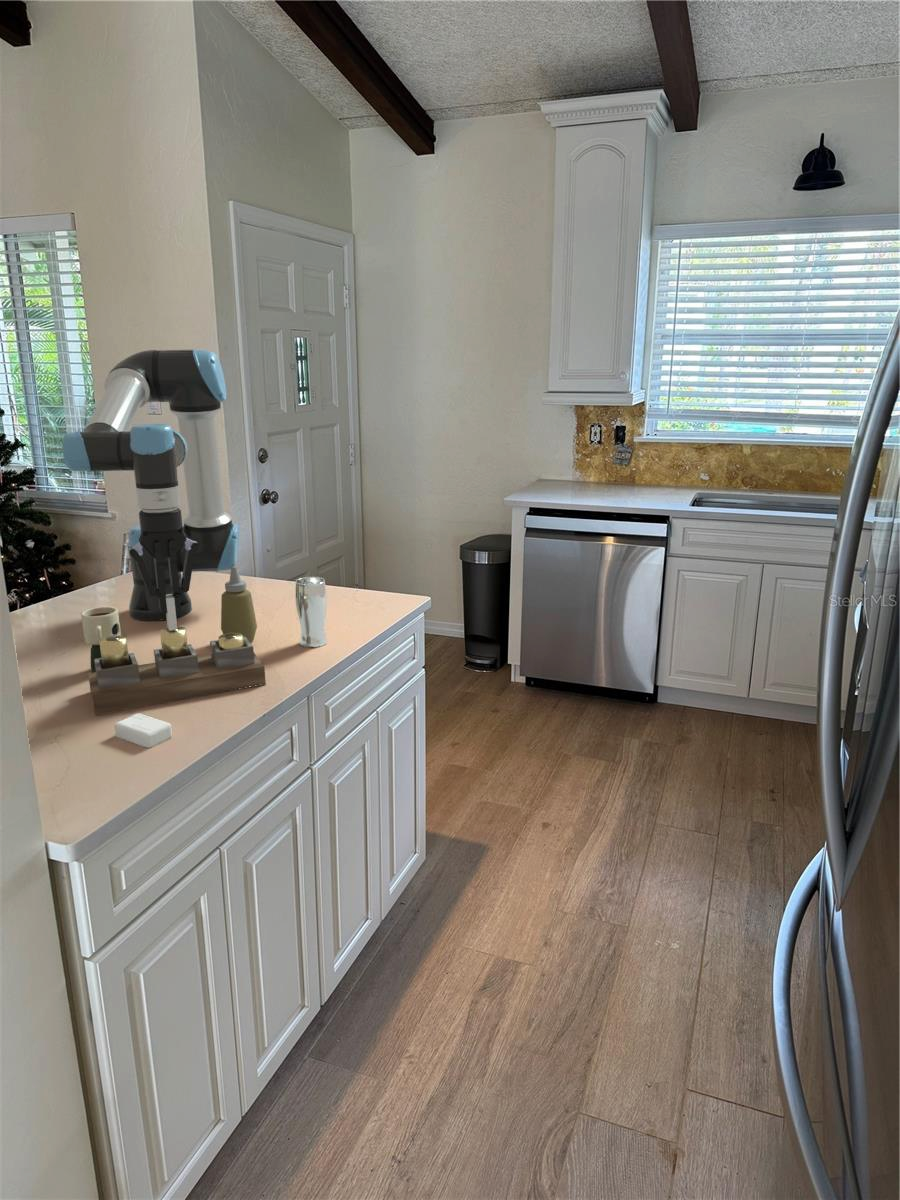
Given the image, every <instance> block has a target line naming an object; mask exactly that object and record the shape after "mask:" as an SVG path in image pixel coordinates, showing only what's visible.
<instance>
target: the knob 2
mask: <svg viewBox="0 0 900 1200" xmlns="http://www.w3.org/2000/svg"><path fill="white" fill-rule="evenodd" d="M218 640H219V649H220V651H221V650H227V649H234V648H240V647H244V643H243V635H242V634H240V633H226V634H223V633H222V634H220V635H219V636H218Z"/></svg>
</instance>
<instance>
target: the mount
mask: <svg viewBox="0 0 900 1200" xmlns="http://www.w3.org/2000/svg"><path fill="white" fill-rule="evenodd" d="M243 643H244V647H240V648H234V649H227V650H221V651H220V649H219V639H217V640H210V641H209V645H210V653H207V654H199V655H198V654H197V652H196V651H195V649H194V648H193V646H192V644H190V643H189V644H187V647H188V654H187V655H186V656H183V657H177V658H170V659H169V658H164V657H163V654H162V648H156V649H153V655H154V662H151V663H144V664H138V662H137V661H138V660H137V658H136V656H135V653H134V652H131V653H128V655H129V663H128V664H127V665H125V666H120V667H113V668H105V667H103V664H102V658H97V659H94V661H95V668H96V671H92V672H88V673H87V675H88V681H89V688H90V689H89V690H90V695H91V700H92V706H93V710H94V715H95V716H99V715H103V714H104V715H105V714H108V713H115V712H119V711H120V712H121V711H127V710H132V709H138V708H144V707H148V706H154V705H159V704H165V703H170V702H177V701H182V700H188V699H193V698H199V697H204V696H205V697H206V696H209V695H215V694H221V693H222V694H223V693H227V692H231V691H230V690H233V691H236V690H235V689H239V688H244V689H246V688H245V687H249V686H255V685H260V684H267V682H266V670H265V665H264V664H263V662H262V661H261V659H259V657H258V656H257V654H255V651H254V646H253V645H252V644H253V643H250V642H249V641H248V639H247V638H246V637H245V636H243ZM255 687H256V686H255ZM239 690H240V689H239ZM226 691H227V692H226Z"/></svg>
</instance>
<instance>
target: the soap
mask: <svg viewBox="0 0 900 1200" xmlns="http://www.w3.org/2000/svg"><path fill="white" fill-rule="evenodd" d="M114 731H115V736H116V738H118V739H121V740H124V741H125V742H126V741H127V742H129V743H132V744H134V743H135V745H137V746H140V747H143V748H145V747H147V748H146V749H151V748H153V747H155V746H157V745H159V744H161V743H163V742H166V741H167V739H168V740H170V739H172V738H173V731H172V724H171V723H169V722H166V721H164V720H161V719H157V718H155V717H151V716H148V715H145V714H142V713H139V712H138V713H135V714H133V715H131V716H129V717H126V718H125V719H122V720H120V721H117V722H115V723H114ZM169 738H170V739H169ZM165 740H166V741H165ZM150 747H151V748H150Z"/></svg>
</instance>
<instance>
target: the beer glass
mask: <svg viewBox="0 0 900 1200" xmlns="http://www.w3.org/2000/svg"><path fill="white" fill-rule="evenodd" d="M325 581H326V580H325V578H323V577H320V576H305V577H300V578H298V579H296V580H295V589H294V593H295V594H294V597H295V606H296V611H297V615H298V620H299V623H300V632H301V633H300V639H299V640H300V641H299V644H300V646H302V647H303V646H304V648H309V647H314V648H320V647H323V646H325V645H327V643H328V641H327V640H328V639H327V637H326V632H325V631H326V630H325V622H326V615H327V614H326V613H327V599H328V597H327V596H328V595H327V587H326V582H325ZM319 646H320V647H319Z"/></svg>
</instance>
